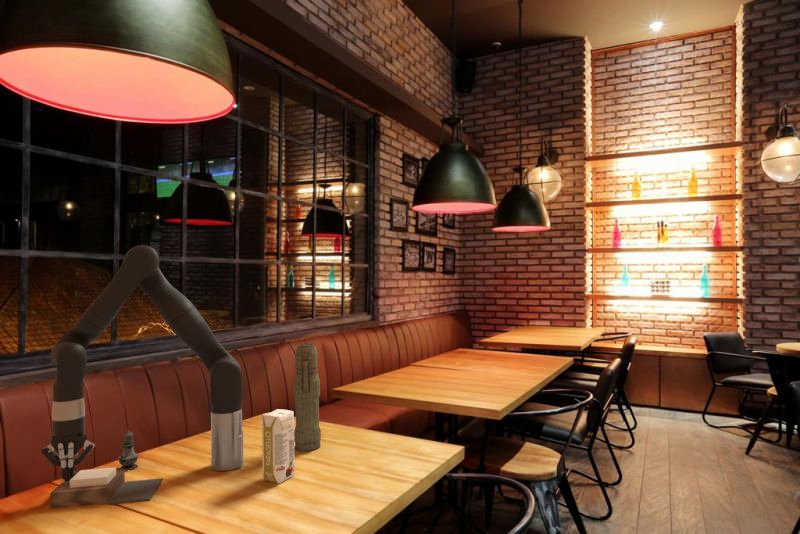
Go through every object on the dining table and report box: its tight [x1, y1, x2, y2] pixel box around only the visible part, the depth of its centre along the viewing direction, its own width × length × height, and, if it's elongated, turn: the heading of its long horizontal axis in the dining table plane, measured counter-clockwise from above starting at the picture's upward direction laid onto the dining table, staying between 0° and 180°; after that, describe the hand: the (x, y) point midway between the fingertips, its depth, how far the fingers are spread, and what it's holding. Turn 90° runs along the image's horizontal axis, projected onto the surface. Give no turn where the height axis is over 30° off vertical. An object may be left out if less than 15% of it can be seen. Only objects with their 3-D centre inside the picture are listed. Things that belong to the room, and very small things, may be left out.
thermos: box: [293, 343, 322, 453], centre depth 176 cm, size 9×12×35 cm
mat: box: [108, 477, 164, 505], centre depth 142 cm, size 10×14×1 cm
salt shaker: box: [117, 429, 140, 472], centre depth 160 cm, size 6×6×12 cm
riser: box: [49, 470, 126, 510], centre depth 139 cm, size 14×12×4 cm
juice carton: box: [261, 408, 296, 484], centre depth 150 cm, size 8×9×19 cm
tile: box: [70, 467, 117, 488], centre depth 140 cm, size 9×7×2 cm
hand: (69, 480), depth 138 cm, fingers closed
